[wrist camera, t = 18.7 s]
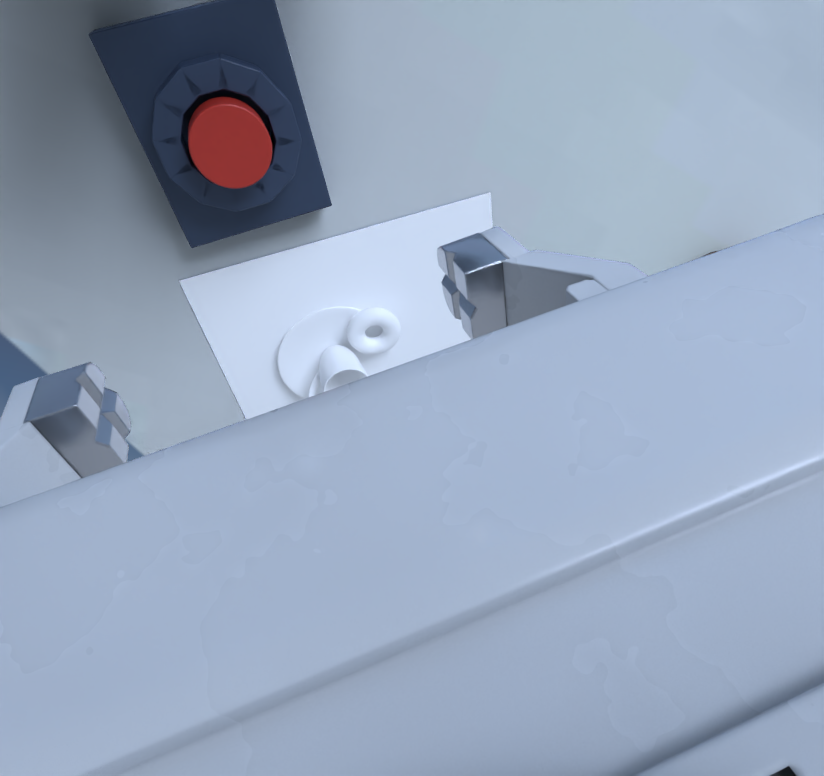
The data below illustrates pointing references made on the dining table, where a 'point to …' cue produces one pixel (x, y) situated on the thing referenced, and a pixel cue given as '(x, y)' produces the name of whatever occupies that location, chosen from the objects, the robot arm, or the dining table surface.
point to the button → (229, 142)
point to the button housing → (205, 79)
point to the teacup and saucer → (334, 307)
